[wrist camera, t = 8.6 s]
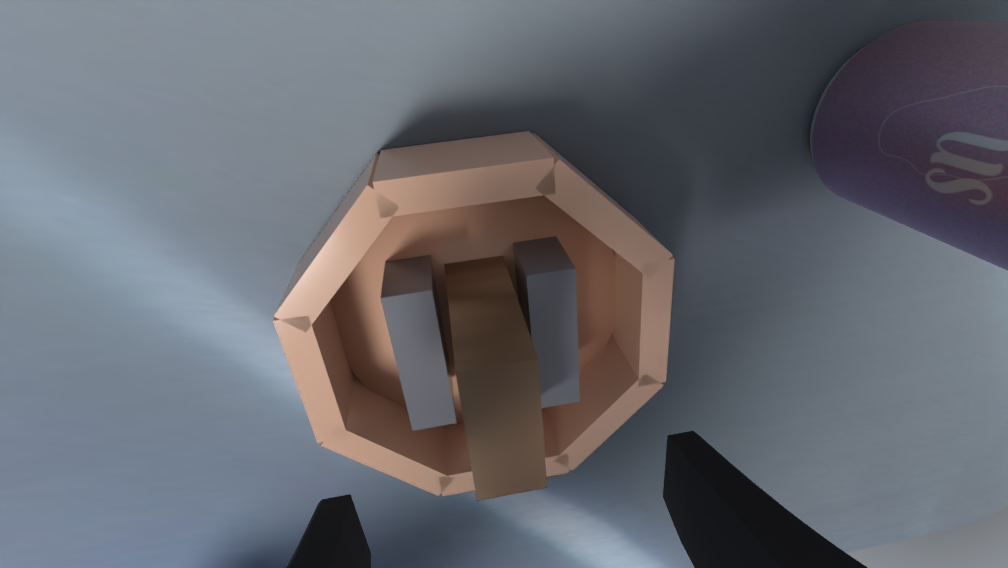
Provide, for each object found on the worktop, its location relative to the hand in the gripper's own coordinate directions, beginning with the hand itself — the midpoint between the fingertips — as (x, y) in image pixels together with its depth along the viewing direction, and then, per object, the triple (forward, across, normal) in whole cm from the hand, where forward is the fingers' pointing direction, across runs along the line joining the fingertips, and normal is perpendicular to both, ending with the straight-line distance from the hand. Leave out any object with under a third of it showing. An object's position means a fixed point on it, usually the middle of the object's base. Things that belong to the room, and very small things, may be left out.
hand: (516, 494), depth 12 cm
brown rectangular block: (+8, 0, 0) cm, 8 cm away
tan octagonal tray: (+9, 0, 0) cm, 9 cm away
